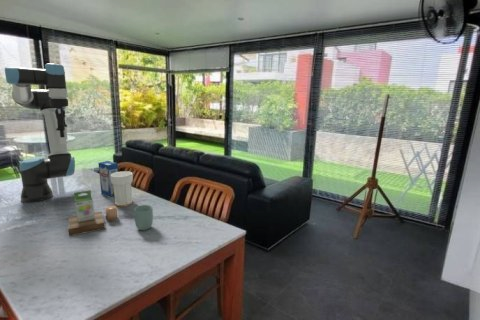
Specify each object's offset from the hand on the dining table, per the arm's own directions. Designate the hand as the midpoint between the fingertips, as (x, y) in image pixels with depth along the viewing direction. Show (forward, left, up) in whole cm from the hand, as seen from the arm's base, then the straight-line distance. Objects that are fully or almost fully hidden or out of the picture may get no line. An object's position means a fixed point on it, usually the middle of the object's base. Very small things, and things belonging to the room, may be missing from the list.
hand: (64, 141), depth 134 cm
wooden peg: (+21, +17, -37) cm, 46 cm away
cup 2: (+38, +29, -37) cm, 60 cm away
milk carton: (-17, +20, -37) cm, 45 cm away
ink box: (+23, +6, -34) cm, 41 cm away
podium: (+23, +6, -37) cm, 44 cm away
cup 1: (+2, +25, -37) cm, 45 cm away
